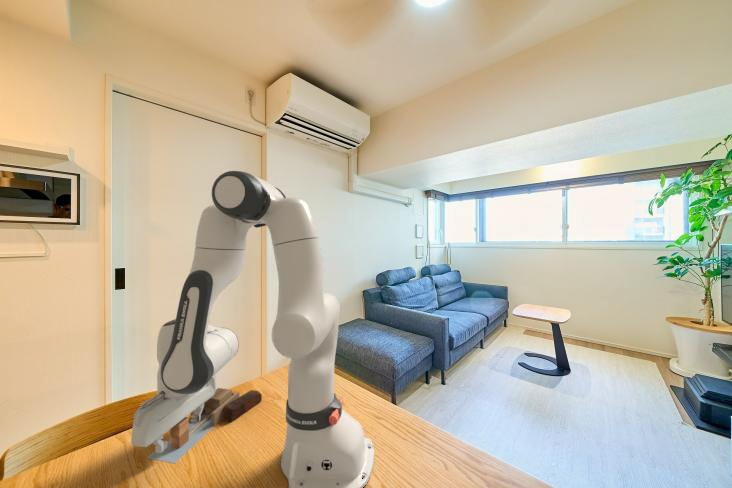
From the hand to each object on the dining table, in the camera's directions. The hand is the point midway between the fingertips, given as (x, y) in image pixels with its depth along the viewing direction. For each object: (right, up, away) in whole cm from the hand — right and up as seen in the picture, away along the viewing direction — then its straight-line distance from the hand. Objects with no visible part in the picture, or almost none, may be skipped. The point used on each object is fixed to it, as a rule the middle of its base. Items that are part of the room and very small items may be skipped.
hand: (179, 435), depth 63 cm
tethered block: (+1, -2, +7) cm, 7 cm away
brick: (+10, -4, +13) cm, 17 cm away
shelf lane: (+1, -3, +6) cm, 7 cm away
